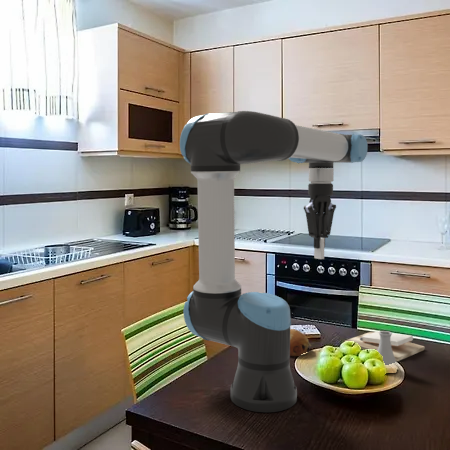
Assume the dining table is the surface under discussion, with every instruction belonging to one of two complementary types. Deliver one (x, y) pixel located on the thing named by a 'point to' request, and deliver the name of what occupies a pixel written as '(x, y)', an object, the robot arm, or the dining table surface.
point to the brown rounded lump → (298, 343)
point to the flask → (386, 347)
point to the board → (398, 351)
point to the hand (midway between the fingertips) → (319, 258)
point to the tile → (395, 340)
